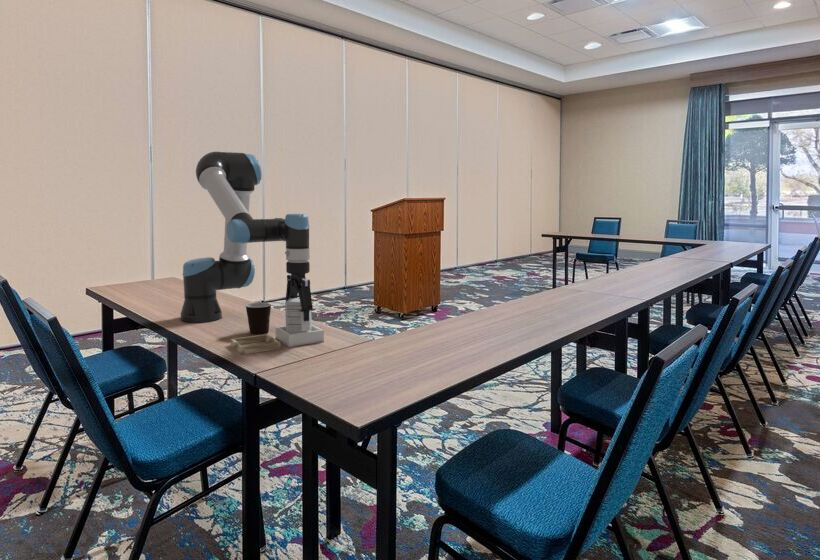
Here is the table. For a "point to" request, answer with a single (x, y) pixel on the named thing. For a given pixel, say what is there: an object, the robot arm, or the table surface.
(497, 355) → the table surface
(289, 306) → the supplement box
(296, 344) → the bin
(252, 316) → the coffee mug
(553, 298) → the table surface
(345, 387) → the table surface
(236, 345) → the corral
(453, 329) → the table surface
